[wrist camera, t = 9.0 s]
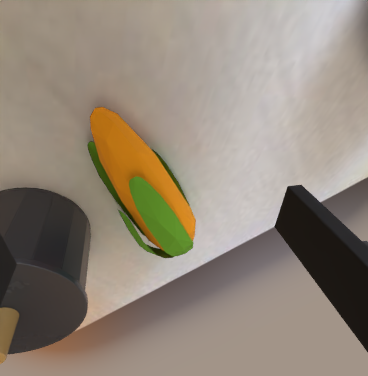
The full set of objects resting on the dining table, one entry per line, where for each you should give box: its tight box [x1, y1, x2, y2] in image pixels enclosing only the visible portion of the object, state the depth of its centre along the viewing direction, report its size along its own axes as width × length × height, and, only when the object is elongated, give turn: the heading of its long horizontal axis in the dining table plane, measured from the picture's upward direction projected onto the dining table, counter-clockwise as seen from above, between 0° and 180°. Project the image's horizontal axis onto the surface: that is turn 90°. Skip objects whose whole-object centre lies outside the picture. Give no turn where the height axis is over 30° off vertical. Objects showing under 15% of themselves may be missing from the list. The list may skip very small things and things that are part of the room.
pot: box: [0, 188, 91, 290], centre depth 26 cm, size 13×13×10 cm
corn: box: [88, 107, 196, 258], centre depth 26 cm, size 7×8×20 cm
